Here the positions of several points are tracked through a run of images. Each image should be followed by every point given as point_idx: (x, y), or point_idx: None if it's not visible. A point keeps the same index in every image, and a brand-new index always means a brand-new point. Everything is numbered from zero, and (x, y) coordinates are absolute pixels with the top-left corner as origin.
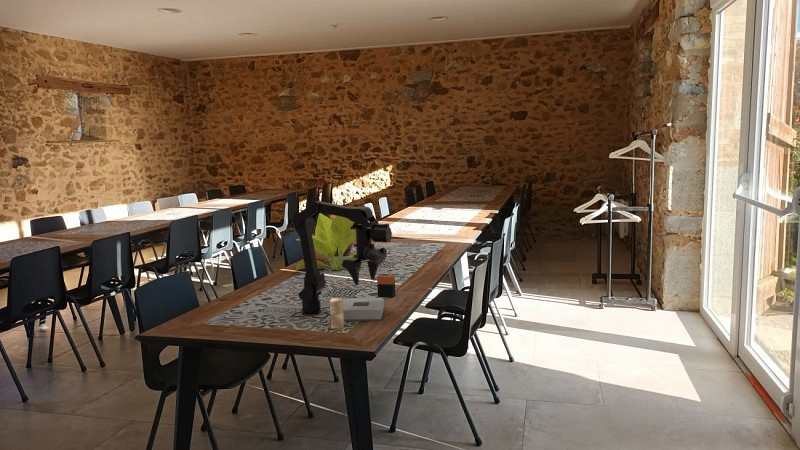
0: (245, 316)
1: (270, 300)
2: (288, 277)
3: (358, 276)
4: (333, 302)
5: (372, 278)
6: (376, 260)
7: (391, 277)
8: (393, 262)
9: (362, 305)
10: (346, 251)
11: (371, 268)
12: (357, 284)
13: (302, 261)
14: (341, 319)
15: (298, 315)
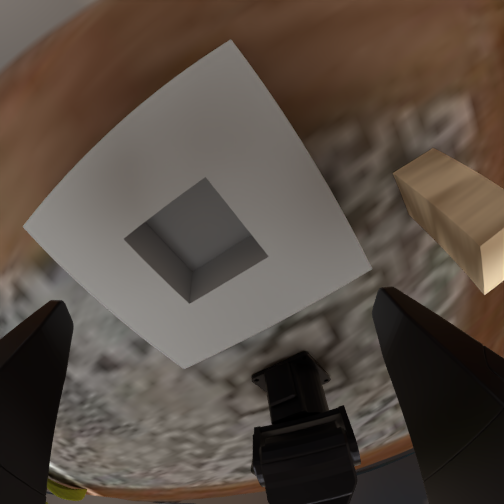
0: (379, 425)
1: (250, 464)
2: (116, 489)
3: (464, 354)
4: None
5: (62, 322)
6: None
7: None
8: None
9: (158, 258)
10: None
11: (20, 447)
12: (397, 289)
13: (75, 500)
14: (459, 165)
15: (337, 378)
